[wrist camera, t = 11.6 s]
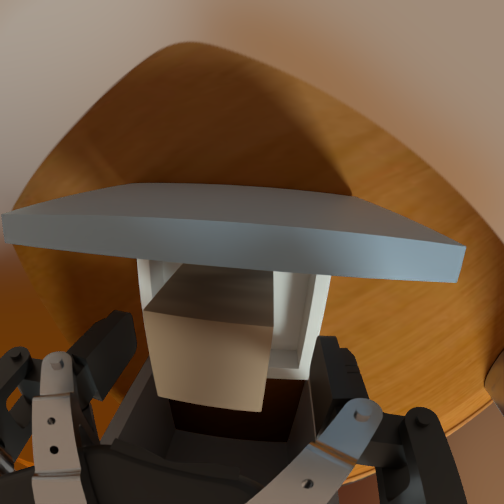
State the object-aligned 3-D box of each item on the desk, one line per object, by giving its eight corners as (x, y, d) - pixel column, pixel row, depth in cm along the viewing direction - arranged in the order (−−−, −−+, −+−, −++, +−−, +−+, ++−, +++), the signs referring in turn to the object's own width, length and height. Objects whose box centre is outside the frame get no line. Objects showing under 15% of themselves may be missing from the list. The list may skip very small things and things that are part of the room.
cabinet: (319, 373, 20) (340, 511, 8) (294, 446, 23) (296, 541, 12) (149, 354, 20) (84, 470, 9) (168, 431, 24) (137, 519, 13)
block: (273, 251, 16) (273, 327, 8) (266, 316, 17) (261, 412, 10) (199, 244, 16) (142, 310, 9) (199, 308, 18) (158, 396, 10)
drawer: (355, 196, 15) (466, 246, 5) (325, 355, 19) (350, 477, 9) (133, 183, 16) (1, 214, 6) (145, 336, 20) (80, 436, 10)
